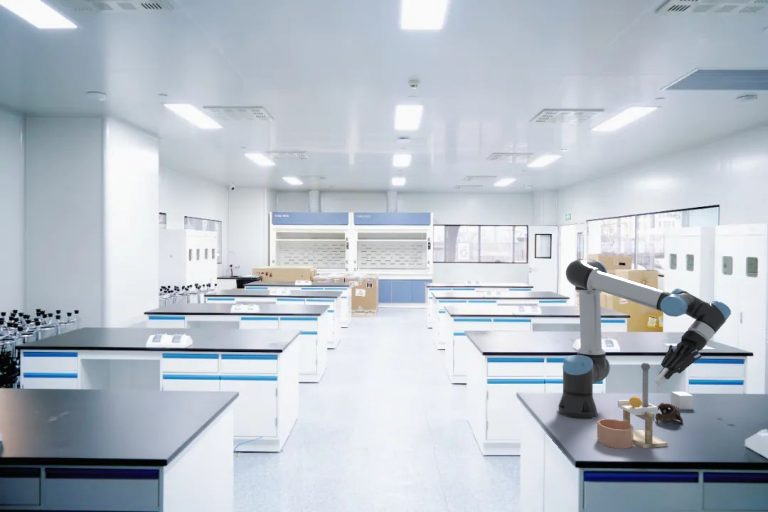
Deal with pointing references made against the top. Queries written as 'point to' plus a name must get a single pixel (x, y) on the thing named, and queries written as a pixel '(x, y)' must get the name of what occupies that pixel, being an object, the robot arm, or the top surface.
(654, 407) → the lever
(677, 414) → the dark brown skull
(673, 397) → the white cube
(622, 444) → the terracotta round bowl
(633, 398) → the ball
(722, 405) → the top surface
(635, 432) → the lever stand
